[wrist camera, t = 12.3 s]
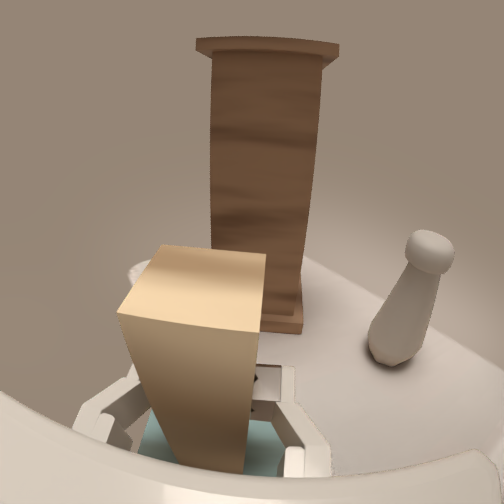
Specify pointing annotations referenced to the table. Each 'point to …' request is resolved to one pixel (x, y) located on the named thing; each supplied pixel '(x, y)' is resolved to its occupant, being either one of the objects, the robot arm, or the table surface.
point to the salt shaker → (410, 300)
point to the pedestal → (265, 157)
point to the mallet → (200, 359)
